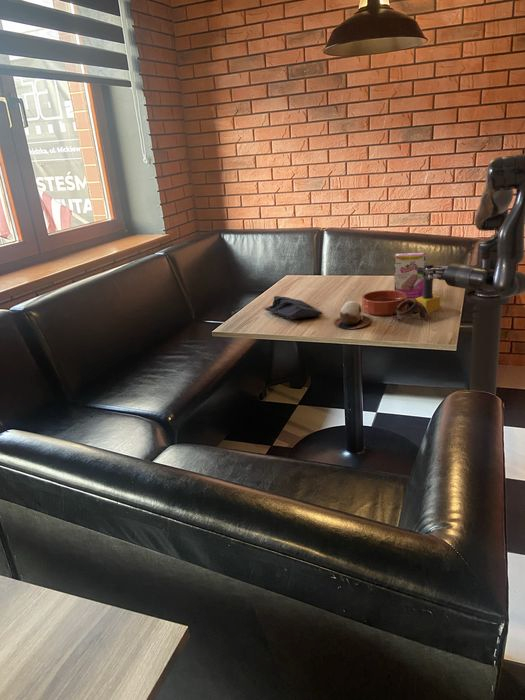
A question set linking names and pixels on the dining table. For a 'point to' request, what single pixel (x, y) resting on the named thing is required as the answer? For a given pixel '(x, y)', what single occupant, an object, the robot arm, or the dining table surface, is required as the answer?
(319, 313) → the folded black cloth
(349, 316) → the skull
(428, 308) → the sponge wand
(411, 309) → the pottery mug
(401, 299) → the terracotta ring
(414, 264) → the candy bar box
